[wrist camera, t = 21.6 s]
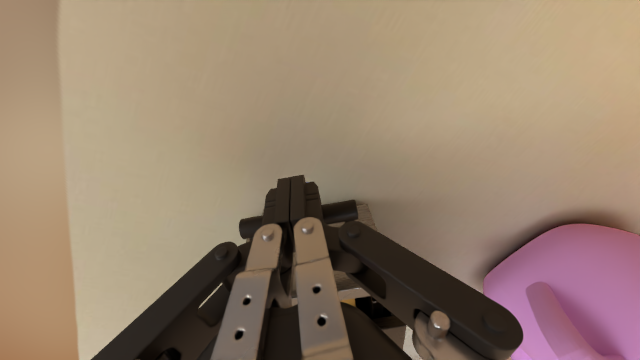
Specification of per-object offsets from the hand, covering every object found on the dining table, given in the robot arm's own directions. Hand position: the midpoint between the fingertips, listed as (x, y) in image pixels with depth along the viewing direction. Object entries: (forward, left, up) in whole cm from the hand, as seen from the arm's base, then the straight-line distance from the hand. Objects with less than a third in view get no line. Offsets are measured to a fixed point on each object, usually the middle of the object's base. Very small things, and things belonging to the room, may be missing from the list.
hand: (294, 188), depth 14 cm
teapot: (+30, -18, -5) cm, 36 cm away
